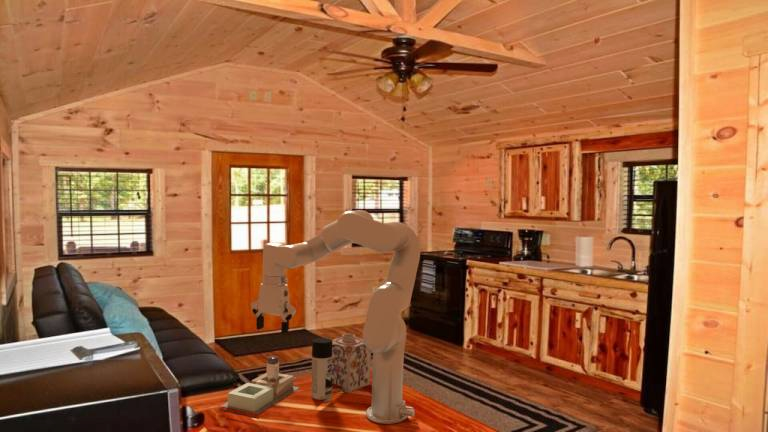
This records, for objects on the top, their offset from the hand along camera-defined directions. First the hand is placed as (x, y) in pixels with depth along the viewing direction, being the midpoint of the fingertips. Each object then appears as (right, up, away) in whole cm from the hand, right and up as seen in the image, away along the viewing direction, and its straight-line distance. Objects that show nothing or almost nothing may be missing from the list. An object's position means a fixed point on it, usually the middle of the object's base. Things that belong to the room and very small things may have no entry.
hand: (272, 330), depth 181 cm
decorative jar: (+25, -22, +11) cm, 35 cm away
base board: (-2, -22, -5) cm, 22 cm away
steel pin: (0, -20, +1) cm, 20 cm away
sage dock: (-5, -21, -10) cm, 23 cm away
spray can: (+17, -23, -3) cm, 28 cm away
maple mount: (0, -20, +1) cm, 20 cm away
